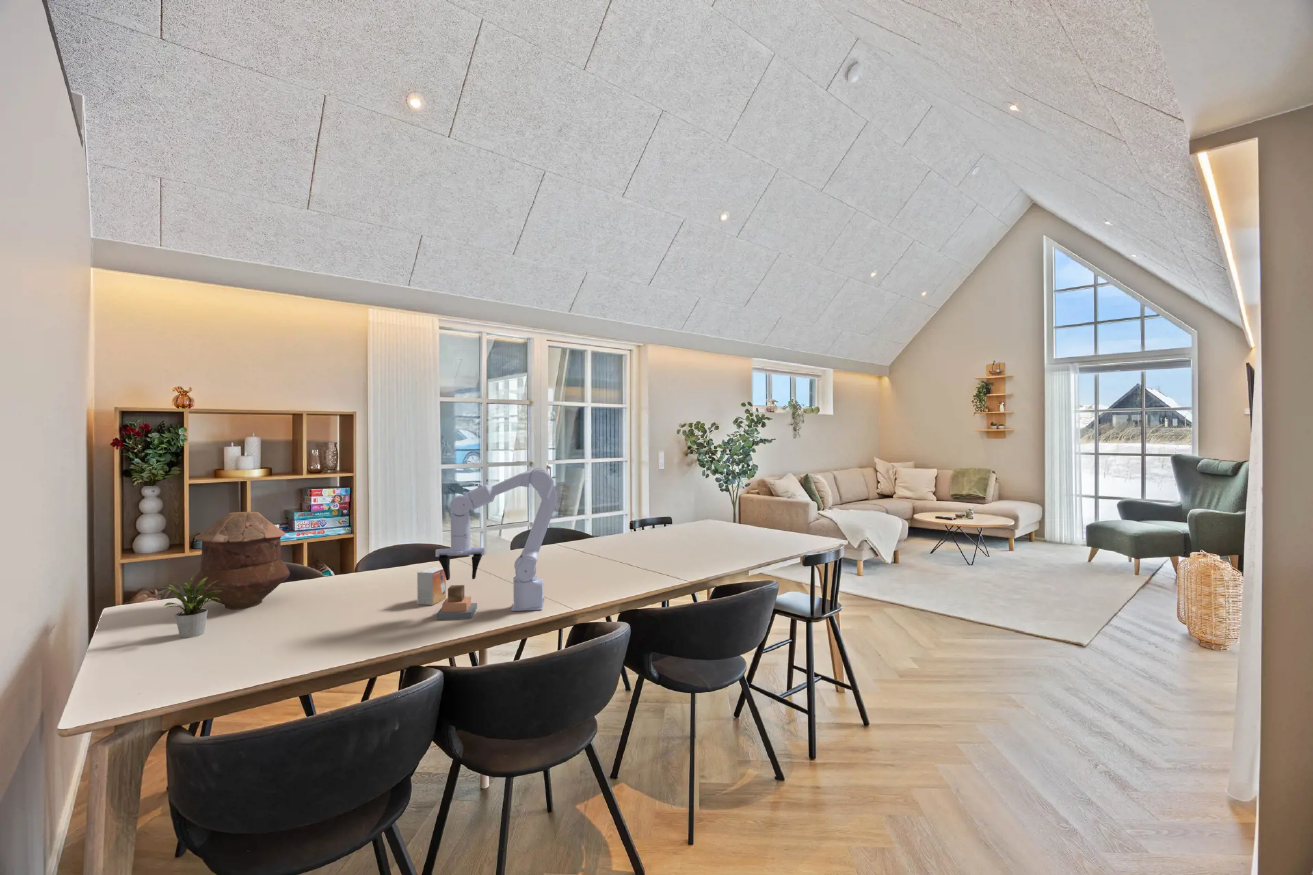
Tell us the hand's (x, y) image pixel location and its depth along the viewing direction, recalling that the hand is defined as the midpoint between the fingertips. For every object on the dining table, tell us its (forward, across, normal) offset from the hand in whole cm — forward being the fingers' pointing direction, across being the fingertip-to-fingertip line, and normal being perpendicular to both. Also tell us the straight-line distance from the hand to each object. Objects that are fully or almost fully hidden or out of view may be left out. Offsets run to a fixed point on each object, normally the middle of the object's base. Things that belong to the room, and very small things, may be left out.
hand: (461, 578), depth 179 cm
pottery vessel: (+10, -72, +19) cm, 75 cm away
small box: (+11, -12, +14) cm, 21 cm away
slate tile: (+11, -1, -1) cm, 11 cm away
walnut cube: (+6, -1, -1) cm, 6 cm away
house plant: (+10, -70, -11) cm, 72 cm away
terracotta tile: (+9, -1, -2) cm, 9 cm away
